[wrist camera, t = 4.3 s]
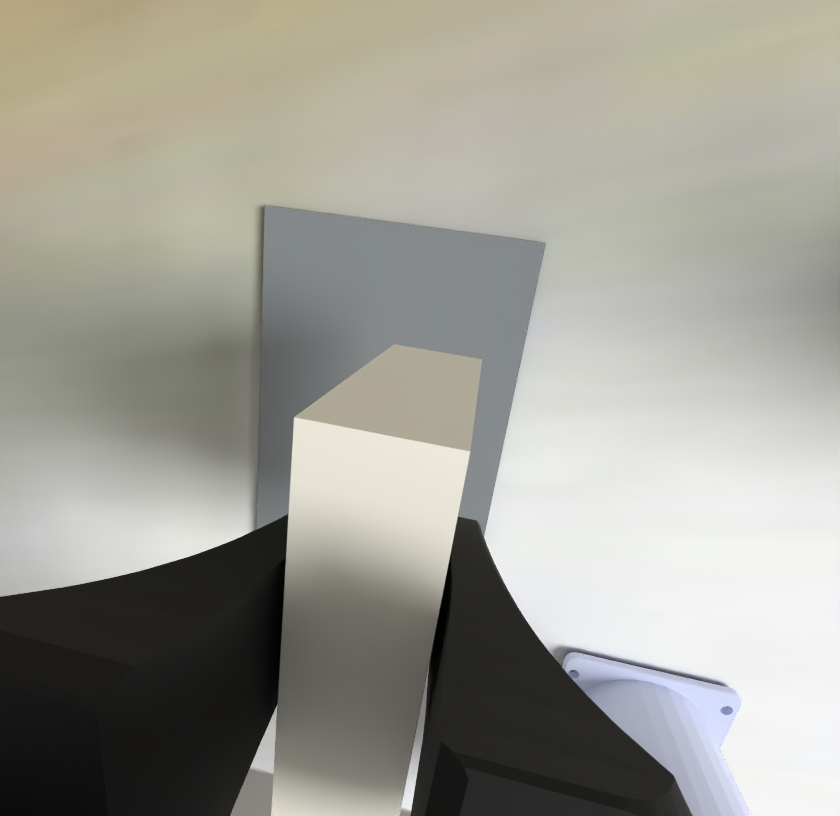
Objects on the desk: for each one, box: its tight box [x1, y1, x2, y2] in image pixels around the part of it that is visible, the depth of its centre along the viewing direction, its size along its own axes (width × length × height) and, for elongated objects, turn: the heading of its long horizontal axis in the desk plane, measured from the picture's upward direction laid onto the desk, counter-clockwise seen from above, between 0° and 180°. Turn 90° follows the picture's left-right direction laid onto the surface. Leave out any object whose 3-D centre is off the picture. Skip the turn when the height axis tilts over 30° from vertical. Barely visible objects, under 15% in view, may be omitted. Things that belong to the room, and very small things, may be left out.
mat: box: [256, 205, 546, 536], centre depth 20 cm, size 16×11×1 cm
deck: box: [271, 344, 482, 816], centre depth 10 cm, size 9×2×6 cm, turn 172°
